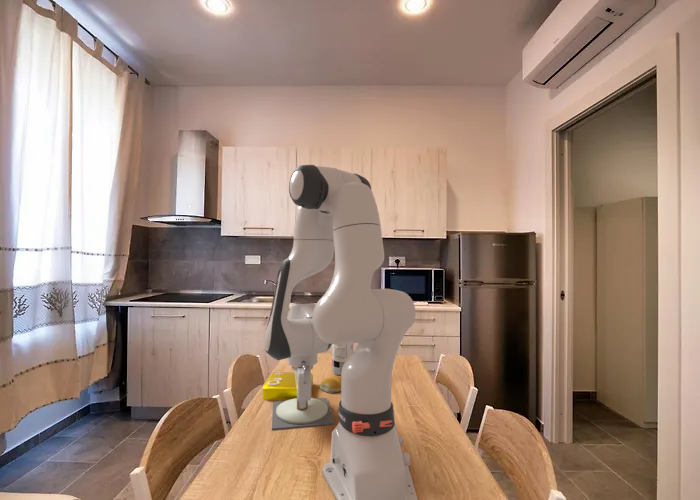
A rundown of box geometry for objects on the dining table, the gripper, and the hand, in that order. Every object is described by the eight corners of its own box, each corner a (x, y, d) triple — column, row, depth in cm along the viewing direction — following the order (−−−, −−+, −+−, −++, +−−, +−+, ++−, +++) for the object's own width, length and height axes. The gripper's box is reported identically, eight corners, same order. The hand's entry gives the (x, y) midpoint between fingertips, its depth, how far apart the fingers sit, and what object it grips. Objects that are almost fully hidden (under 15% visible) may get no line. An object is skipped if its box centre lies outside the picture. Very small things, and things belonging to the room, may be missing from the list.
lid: (331, 421, 96) (331, 401, 96) (275, 426, 93) (276, 405, 93) (324, 399, 110) (324, 381, 111) (276, 402, 107) (276, 384, 107)
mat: (335, 424, 95) (335, 422, 95) (271, 430, 92) (271, 428, 92) (326, 398, 112) (326, 397, 112) (273, 402, 108) (273, 401, 108)
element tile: (307, 402, 110) (307, 387, 110) (260, 401, 110) (261, 386, 110) (313, 384, 125) (313, 371, 125) (272, 383, 125) (272, 370, 125)
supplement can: (329, 370, 138) (329, 333, 139) (347, 368, 142) (348, 331, 142) (337, 377, 131) (337, 337, 131) (356, 374, 135) (356, 335, 135)
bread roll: (350, 388, 121) (350, 376, 121) (332, 395, 115) (332, 383, 115) (334, 382, 127) (334, 371, 127) (315, 388, 120) (316, 377, 120)
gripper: (317, 367, 92) (316, 419, 92) (310, 347, 112) (309, 389, 112) (293, 368, 91) (292, 421, 91) (290, 348, 111) (290, 391, 111)
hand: (302, 403), depth 102 cm, fingers open, 3 cm apart
